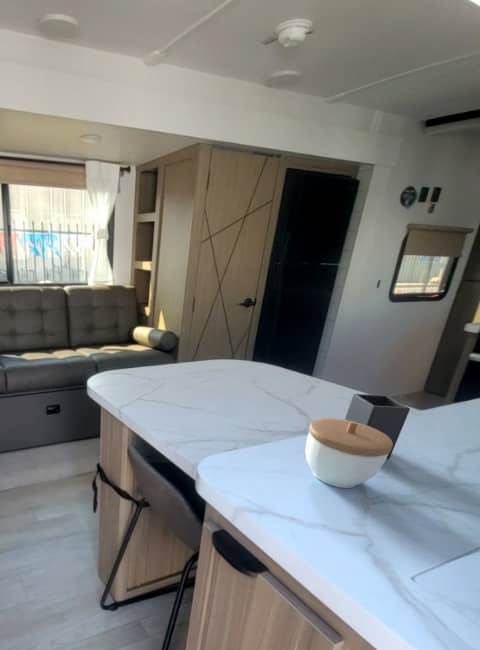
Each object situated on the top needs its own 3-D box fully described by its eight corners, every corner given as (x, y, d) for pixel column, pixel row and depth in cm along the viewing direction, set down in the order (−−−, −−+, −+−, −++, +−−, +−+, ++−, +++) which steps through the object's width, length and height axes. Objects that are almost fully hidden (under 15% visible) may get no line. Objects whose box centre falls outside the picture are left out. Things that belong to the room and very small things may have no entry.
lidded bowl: (391, 490, 71) (416, 434, 66) (337, 502, 67) (360, 443, 62) (331, 456, 81) (349, 405, 77) (282, 464, 77) (297, 411, 72)
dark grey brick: (387, 395, 83) (353, 393, 83) (410, 408, 77) (373, 406, 77) (369, 442, 88) (337, 441, 88) (389, 458, 82) (354, 456, 82)
